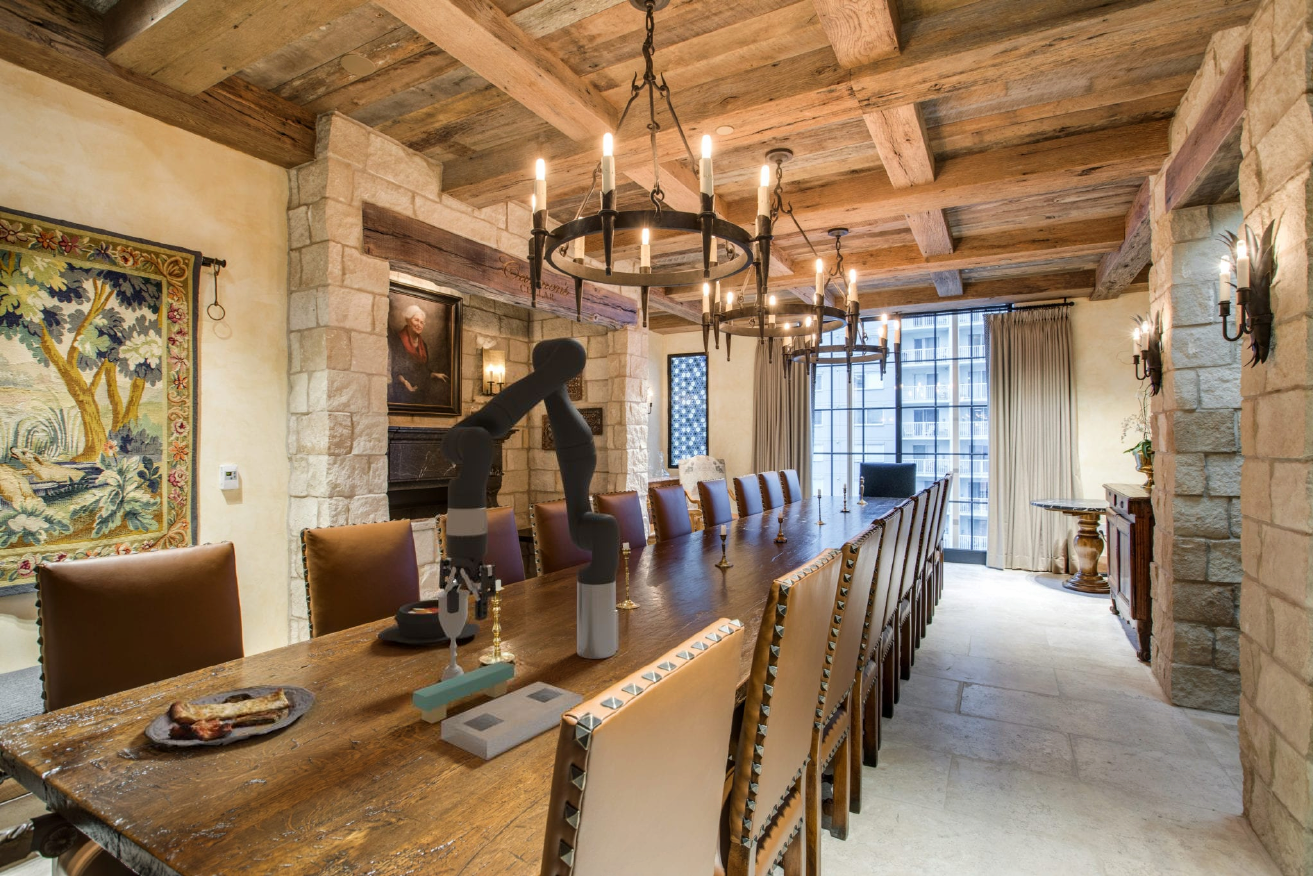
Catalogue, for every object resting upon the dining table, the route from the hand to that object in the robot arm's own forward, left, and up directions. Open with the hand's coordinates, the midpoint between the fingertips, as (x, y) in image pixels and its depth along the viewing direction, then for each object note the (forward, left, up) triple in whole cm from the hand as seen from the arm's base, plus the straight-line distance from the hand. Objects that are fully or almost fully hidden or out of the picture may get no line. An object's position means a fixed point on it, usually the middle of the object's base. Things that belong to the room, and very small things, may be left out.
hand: (466, 616), depth 119 cm
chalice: (-7, -14, -17) cm, 23 cm away
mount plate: (0, +14, -17) cm, 22 cm away
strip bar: (0, 0, -17) cm, 17 cm away
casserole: (-20, -42, -17) cm, 50 cm away
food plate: (+29, -28, -18) cm, 44 cm away
